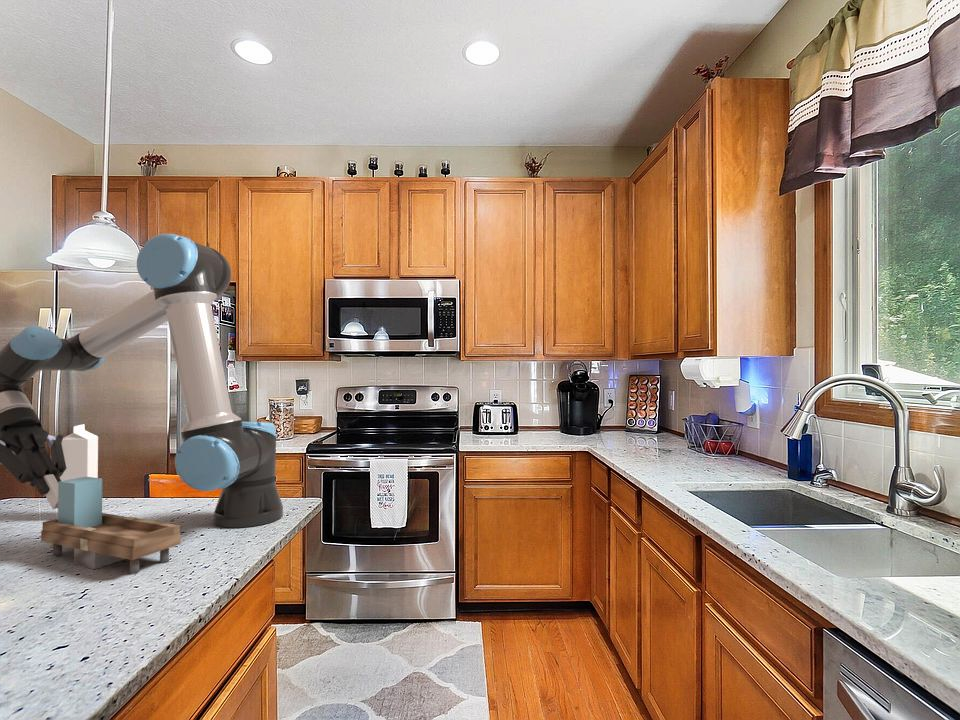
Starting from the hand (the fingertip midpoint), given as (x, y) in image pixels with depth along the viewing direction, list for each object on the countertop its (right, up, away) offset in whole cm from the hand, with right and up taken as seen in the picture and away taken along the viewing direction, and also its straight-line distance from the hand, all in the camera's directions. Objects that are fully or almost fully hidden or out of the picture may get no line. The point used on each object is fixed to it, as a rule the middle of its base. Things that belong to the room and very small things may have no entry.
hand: (59, 503), depth 105 cm
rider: (+6, -4, -3) cm, 7 cm away
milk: (-14, -9, +23) cm, 28 cm away
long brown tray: (+14, -9, -6) cm, 18 cm away
